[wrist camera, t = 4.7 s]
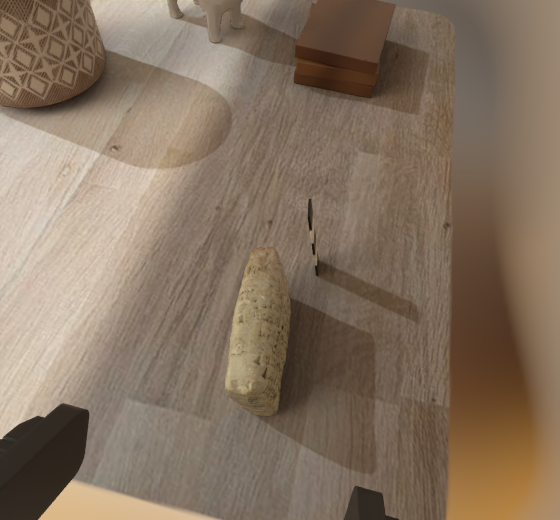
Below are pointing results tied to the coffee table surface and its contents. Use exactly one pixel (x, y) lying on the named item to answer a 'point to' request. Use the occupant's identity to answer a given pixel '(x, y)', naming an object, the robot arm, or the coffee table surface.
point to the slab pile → (343, 45)
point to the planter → (47, 51)
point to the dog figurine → (213, 14)
